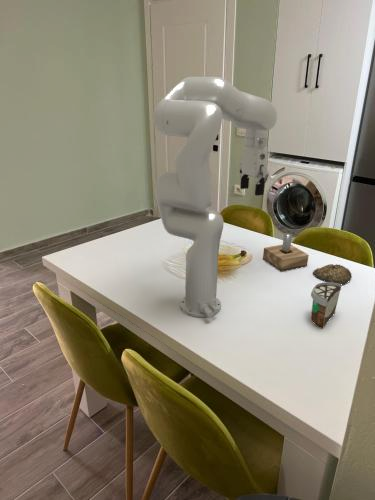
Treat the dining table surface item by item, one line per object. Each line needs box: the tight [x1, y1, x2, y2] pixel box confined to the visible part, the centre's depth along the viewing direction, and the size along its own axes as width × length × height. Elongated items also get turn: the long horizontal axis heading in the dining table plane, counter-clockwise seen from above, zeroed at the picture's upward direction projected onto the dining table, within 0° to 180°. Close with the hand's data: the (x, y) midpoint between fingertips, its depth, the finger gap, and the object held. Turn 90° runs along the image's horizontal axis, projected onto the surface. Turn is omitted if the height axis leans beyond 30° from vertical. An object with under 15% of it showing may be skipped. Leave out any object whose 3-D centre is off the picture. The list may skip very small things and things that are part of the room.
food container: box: [310, 281, 342, 329], centre depth 109 cm, size 12×6×10 cm, turn 141°
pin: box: [282, 232, 293, 254], centre depth 143 cm, size 3×3×11 cm
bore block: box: [262, 244, 309, 273], centre depth 145 cm, size 12×12×5 cm
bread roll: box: [312, 263, 352, 285], centre depth 135 cm, size 13×12×5 cm
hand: (251, 191), depth 134 cm, fingers open, 9 cm apart
